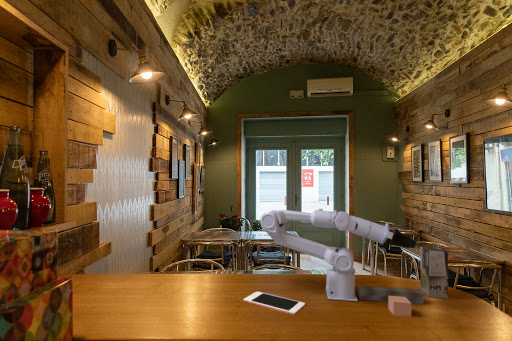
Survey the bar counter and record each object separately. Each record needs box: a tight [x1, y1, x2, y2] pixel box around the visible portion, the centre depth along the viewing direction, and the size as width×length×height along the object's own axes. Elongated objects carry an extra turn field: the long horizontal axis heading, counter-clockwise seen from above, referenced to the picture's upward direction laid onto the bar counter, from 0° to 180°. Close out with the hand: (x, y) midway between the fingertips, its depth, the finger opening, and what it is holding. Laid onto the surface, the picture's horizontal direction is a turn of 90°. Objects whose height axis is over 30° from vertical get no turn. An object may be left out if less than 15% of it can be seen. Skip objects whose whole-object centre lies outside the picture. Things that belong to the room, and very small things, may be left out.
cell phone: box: [242, 291, 306, 316], centre depth 96 cm, size 9×18×1 cm, turn 59°
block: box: [387, 296, 412, 317], centre depth 91 cm, size 5×5×4 cm
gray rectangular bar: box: [357, 285, 424, 305], centre depth 101 cm, size 20×3×4 cm, turn 83°
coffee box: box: [419, 245, 449, 299], centre depth 109 cm, size 9×6×16 cm
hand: (412, 245), depth 97 cm, fingers open, 7 cm apart
